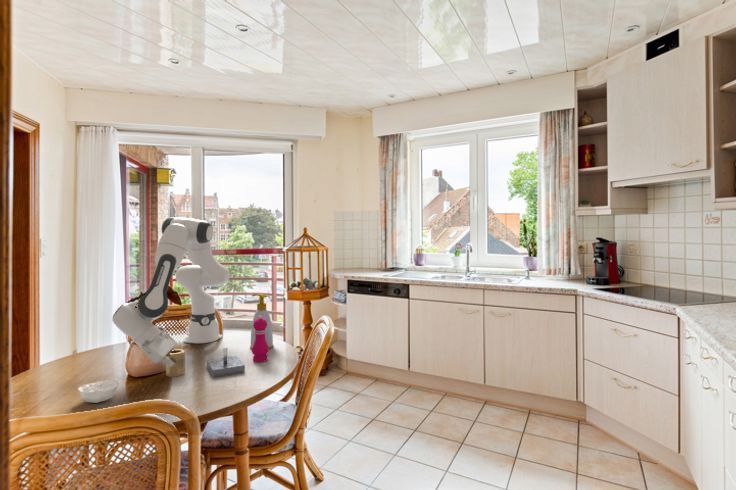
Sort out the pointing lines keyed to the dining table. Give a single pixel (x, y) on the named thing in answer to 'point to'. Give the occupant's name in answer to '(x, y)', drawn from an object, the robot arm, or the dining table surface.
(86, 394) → the cell model
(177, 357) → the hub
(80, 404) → the dining table surface
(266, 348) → the pepper mill
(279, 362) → the dining table surface
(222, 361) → the shaft block
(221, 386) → the dining table surface
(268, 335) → the soap bottle
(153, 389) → the dining table surface
